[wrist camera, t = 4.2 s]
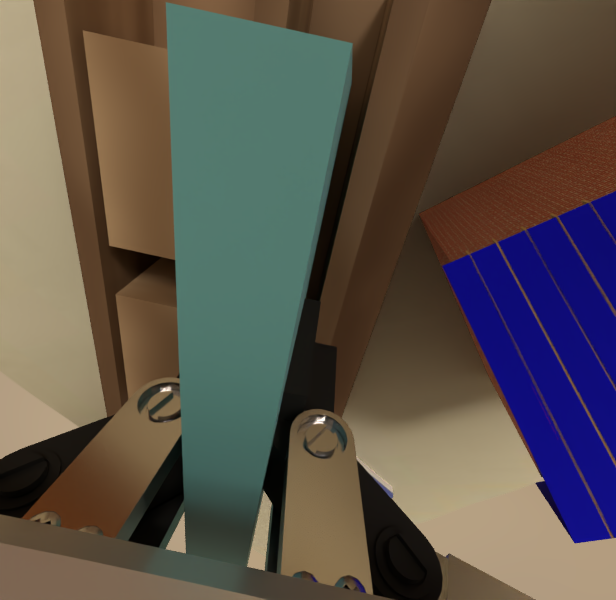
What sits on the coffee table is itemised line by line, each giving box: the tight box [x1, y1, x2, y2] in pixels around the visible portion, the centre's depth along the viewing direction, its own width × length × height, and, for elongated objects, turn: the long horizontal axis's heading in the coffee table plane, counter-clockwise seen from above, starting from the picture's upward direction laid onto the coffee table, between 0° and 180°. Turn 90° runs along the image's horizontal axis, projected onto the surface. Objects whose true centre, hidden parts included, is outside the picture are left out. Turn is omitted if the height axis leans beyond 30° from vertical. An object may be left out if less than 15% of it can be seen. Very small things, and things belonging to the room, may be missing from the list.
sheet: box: [166, 2, 353, 567], centre depth 10 cm, size 1×14×11 cm, turn 170°
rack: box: [33, 0, 491, 417], centre depth 15 cm, size 15×21×6 cm
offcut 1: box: [83, 30, 175, 260], centre depth 12 cm, size 4×6×4 cm, turn 169°
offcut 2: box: [116, 257, 179, 399], centre depth 16 cm, size 4×6×4 cm, turn 169°
